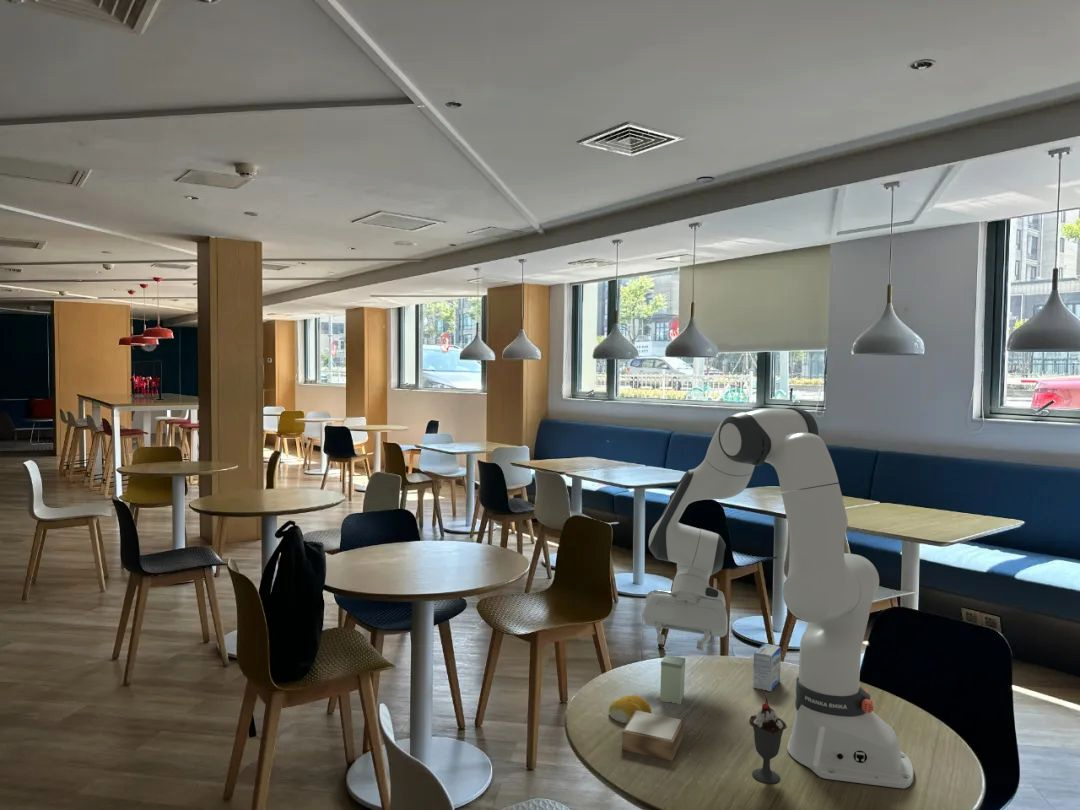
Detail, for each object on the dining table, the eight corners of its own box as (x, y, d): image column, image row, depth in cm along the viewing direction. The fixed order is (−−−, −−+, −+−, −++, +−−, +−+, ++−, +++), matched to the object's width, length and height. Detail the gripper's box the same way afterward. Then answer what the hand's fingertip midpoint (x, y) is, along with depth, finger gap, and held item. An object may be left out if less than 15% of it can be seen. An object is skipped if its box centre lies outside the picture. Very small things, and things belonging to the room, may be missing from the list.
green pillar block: (684, 696, 168) (685, 658, 168) (680, 704, 164) (681, 665, 164) (664, 693, 170) (665, 654, 170) (659, 701, 166) (661, 661, 166)
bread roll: (657, 715, 159) (658, 697, 159) (632, 729, 153) (633, 710, 153) (626, 703, 165) (627, 685, 165) (601, 715, 158) (602, 697, 158)
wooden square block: (682, 739, 149) (683, 719, 149) (672, 762, 140) (672, 741, 140) (635, 728, 153) (636, 709, 153) (621, 751, 144) (622, 730, 144)
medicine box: (771, 692, 172) (772, 656, 172) (752, 687, 174) (753, 652, 174) (780, 681, 179) (781, 646, 178) (761, 677, 181) (763, 642, 181)
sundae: (758, 762, 140) (761, 685, 139) (791, 777, 135) (794, 697, 135) (740, 775, 136) (742, 695, 135) (772, 790, 131) (776, 708, 130)
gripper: (646, 582, 183) (634, 632, 175) (729, 593, 175) (721, 647, 167) (650, 595, 188) (639, 645, 179) (731, 606, 180) (724, 659, 171)
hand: (679, 646), depth 173 cm, fingers open, 8 cm apart
